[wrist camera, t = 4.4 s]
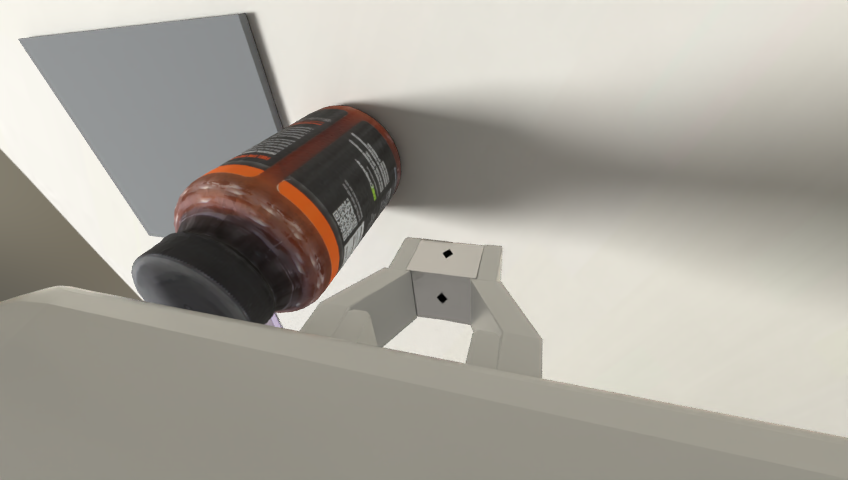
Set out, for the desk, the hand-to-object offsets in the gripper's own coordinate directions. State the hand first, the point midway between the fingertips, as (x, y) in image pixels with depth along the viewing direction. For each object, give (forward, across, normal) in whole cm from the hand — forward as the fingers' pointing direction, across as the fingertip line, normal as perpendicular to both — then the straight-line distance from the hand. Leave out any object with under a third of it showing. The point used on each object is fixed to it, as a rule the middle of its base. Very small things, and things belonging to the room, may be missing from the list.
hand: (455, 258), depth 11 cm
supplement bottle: (+8, +7, 0) cm, 11 cm away
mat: (+8, +19, 0) cm, 21 cm away
